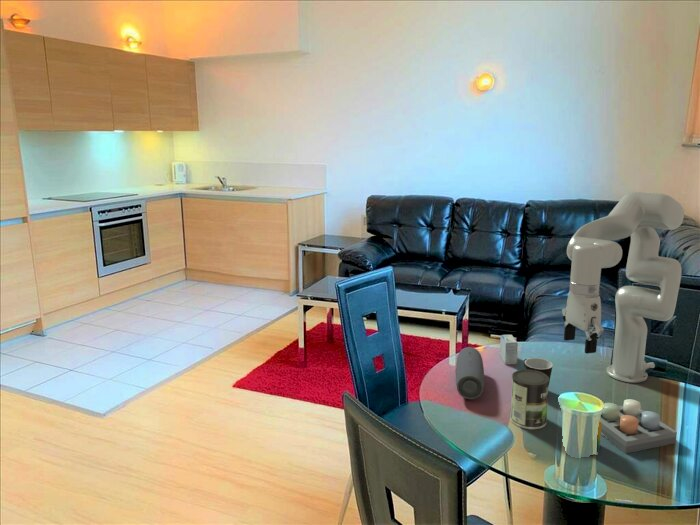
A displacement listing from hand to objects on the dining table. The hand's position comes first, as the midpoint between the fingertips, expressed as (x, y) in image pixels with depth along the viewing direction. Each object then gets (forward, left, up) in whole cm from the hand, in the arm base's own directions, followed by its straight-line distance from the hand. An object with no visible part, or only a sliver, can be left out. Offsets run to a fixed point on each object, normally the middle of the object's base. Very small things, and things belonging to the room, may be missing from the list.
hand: (579, 346), depth 153 cm
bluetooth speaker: (+19, -29, -24) cm, 42 cm away
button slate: (-14, +13, -20) cm, 28 cm away
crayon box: (+4, +13, -24) cm, 27 cm away
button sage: (-7, +6, -20) cm, 22 cm away
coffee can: (+12, -4, -24) cm, 27 cm away
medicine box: (-4, -43, -24) cm, 49 cm away
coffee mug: (-1, -20, -24) cm, 31 cm away
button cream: (-14, +6, -20) cm, 25 cm away
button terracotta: (-7, +13, -20) cm, 25 cm away
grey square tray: (-11, +10, -24) cm, 28 cm away
